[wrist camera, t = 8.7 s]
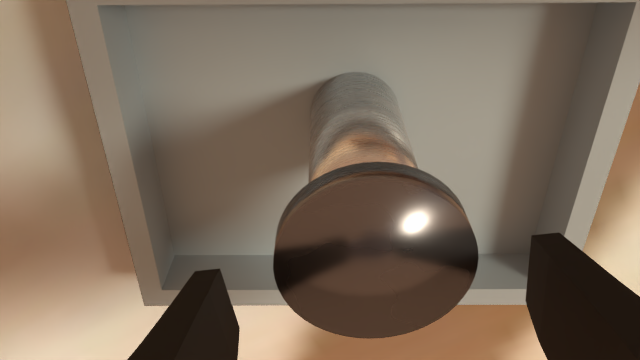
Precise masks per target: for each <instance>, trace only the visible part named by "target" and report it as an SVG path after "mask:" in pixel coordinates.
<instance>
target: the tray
mask: <svg viewBox="0 0 640 360" xmlns="http://www.w3.org/2000/svg"><path fill="white" fill-rule="evenodd" d="M66 3H67V7H68V11H69V15H70V19H71V23H72V26H73V30H74V34H75V38H76V42H77V46H78V50H79V54H80V58H81V61H82V65H83V69H84V73H85V77H86V81H87V85H88V89H89V92H90V96H91V100H92V104H93V108H94V112H95V116H96V120H97V124H98V127H99V131H100V135H101V139H102V143H103V147H104V151H105V155H106V159H107V162H108V166H109V170H110V174H111V178H112V182H113V186H114V190H115V193H116V197H117V201H118V205H119V209H120V213H121V217H122V221H123V225H124V228H125V232H126V236H127V240H128V244H129V248H130V252H131V256H132V259H133V263H134V267H135V271H136V275H137V279H138V283H139V287H140V291H141V294H142V298H143V302H144V306H170V304H171V303H172V302H173V300H174V299H175V297H176V296H177V295H178V293H179V292H180V291H181V289H182V288H183V286H184V285H185V284H186V282H187V281H188V280H189V278H190V277H191V276H192V274H193V273H194V272H195V271H201V270H210V269H219V268H220V270H221V273H222V276H223V279H224V282H225V285H226V288H227V291H228V294H229V297H230V301H231V304H232V305H288V304H287V303H286V301H285V300H284V299H283V297H282V295H281V293H280V292H279V290H278V287H277V284H276V281H275V278H274V271H273V257H274V248H275V239H276V232H277V227H278V223H279V221H280V218H281V215H282V213H283V212H284V210H285V208H286V206H287V205H288V204H289V202H290V201H291V200H292V198H293V197H294V196H295V195H296V194H297V193H298V192H299V191H300V190H301V189H302V188H303V187H305V186H306V185H307V184H308V179H309V148H310V117H311V106H312V102H313V99H314V97H315V95H316V93H317V92H318V90H319V89H320V88H321V87H322V86H323V85H324V84H325V83H326V82H327V81H329V80H330V79H332V78H334V77H336V76H338V75H341V74H344V73H349V72H363V73H368V74H371V75H374V76H376V77H378V78H380V79H381V80H383V81H384V82H385V83H386V84H388V86H389V87H390V88H391V89H392V91H393V92H394V94H395V96H396V99H397V102H398V105H399V108H400V112H401V115H402V118H403V121H404V124H405V128H406V131H407V134H408V137H409V141H410V144H411V147H412V150H413V153H414V157H415V160H416V163H417V166H418V169H420V170H422V171H424V172H427V173H429V174H431V175H432V176H434V177H436V178H437V179H439V180H440V181H441V182H443V183H444V184H445V185H446V186H448V187H449V188H450V189H451V191H452V192H453V193H454V194H455V195H456V196H457V198H458V199H459V201H460V202H461V204H462V206H463V208H464V210H465V213H466V215H467V217H468V220H469V222H470V225H471V227H472V230H473V232H474V235H475V237H476V241H477V246H478V257H479V259H478V267H477V271H476V274H475V278H474V280H473V282H472V284H471V286H470V288H469V290H468V291H467V293H466V294H465V296H464V297H463V298H462V299H461V301H460V302H459V303H458V304H457V305H527V304H526V301H525V300H526V289H527V278H528V267H529V256H530V246H531V235H539V234H549V233H558V232H559V233H561V234H562V235H563V236H564V237H566V238H567V239H568V240H569V241H571V242H572V243H573V244H574V245H575V246H577V247H578V248H579V249H580V250H581V251H583V248H584V245H585V242H586V239H587V236H588V233H589V230H590V227H591V224H592V221H593V218H594V215H595V212H596V209H597V206H598V203H599V200H600V197H601V194H602V192H603V189H604V186H605V183H606V180H607V177H608V174H609V171H610V168H611V165H612V162H613V159H614V156H615V153H616V150H617V147H618V144H619V141H620V138H621V135H622V133H623V130H624V127H625V124H626V121H627V118H628V115H629V112H630V109H631V106H632V103H633V100H634V97H635V94H636V91H637V88H638V85H639V82H640V0H66Z"/></svg>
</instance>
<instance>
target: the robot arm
mask: <svg viewBox="0 0 640 360" xmlns="http://www.w3.org/2000/svg"><path fill="white" fill-rule="evenodd" d="M525 301H526V304H527V307H528V310H529V313H530V316H531V319H532V322H533V325H534V328H535V331H536V334H537V337H538V340H539V342H540V345H541V347H542V349H543V351H544V353H545V355H546V357H547V359H548V360H640V297H639V296H638V295H637V294H635V293H634V292H633V291H631V290H630V289H629V288H628V287H626V286H625V285H624V284H622V283H621V282H620V281H618V280H617V279H616V278H615V277H613V276H612V275H611V274H610V273H608V272H607V271H606V270H605V269H603V268H602V267H601V266H600V265H599V264H597V263H596V262H595V261H594V260H592V259H591V258H590V257H589V256H588V255H586V254H585V253H584V252H583V251H581V250H580V249H579V248H578V247H577V246H575V245H574V244H573V243H572V242H571V241H569V240H568V239H567V238H566V237H564V236H563V235H562V234H561V233H559V232H558V233H549V234H539V235H531V246H530V256H529V267H528V278H527V289H526V300H525ZM238 343H239V325H238V322H237V319H236V316H235V313H234V310H233V307H232V304H231V301H230V297H229V294H228V291H227V288H226V285H225V282H224V279H223V276H222V273H221V270H220V268H219V269H210V270H201V271H195V272H194V273H193V274H192V276H191V277H190V278H189V280H188V281H187V282H186V284H185V285H184V286H183V288H182V289H181V291H180V292H179V293H178V295H177V296H176V297H175V299H174V300H173V302H172V303H171V304H170V306H169V307H168V308H167V310H166V311H165V312H164V314H163V315H162V317H161V318H160V319H159V320H158V322H157V323H156V324H155V326H154V327H153V328H152V330H151V331H150V332H149V334H148V335H147V336H146V337H145V339H144V340H143V341H142V343H141V344H140V345H139V346H138V348H137V349H136V350H135V351H134V352H133V354H132V355H131V356H130V357H129V358H128V360H237V356H238Z"/></svg>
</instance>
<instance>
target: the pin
mask: <svg viewBox="0 0 640 360" xmlns="http://www.w3.org/2000/svg"><path fill="white" fill-rule="evenodd" d="M478 259H479V257H478V246H477V241H476V237H475V235H474V232H473V230H472V227H471V225H470V222H469V220H468V217H467V215H466V213H465V210H464V208H463V206H462V204H461V202H460V201H459V199H458V198H457V196H456V195H455V194H454V193H453V192H452V191H451V189H450V188H449V187H448V186H446V185H445V184H444V183H443V182H441V181H440V180H439V179H437V178H436V177H434V176H432V175H431V174H429V173H427V172H424V171H422V170H420V169H418V166H417V163H416V160H415V157H414V153H413V150H412V147H411V144H410V141H409V137H408V134H407V131H406V128H405V124H404V121H403V118H402V115H401V112H400V108H399V105H398V102H397V99H396V96H395V94H394V92H393V91H392V89H391V88H390V87H389V86H388V84H386V83H385V82H384V81H383V80H381V79H380V78H378V77H376V76H374V75H371V74H368V73H363V72H349V73H344V74H341V75H338V76H336V77H334V78H332V79H330V80H329V81H327V82H326V83H325V84H324V85H323V86H322V87H321V88H320V89H319V90H318V92H317V93H316V95H315V97H314V99H313V102H312V106H311V117H310V148H309V179H308V184H307V185H306V186H305V187H303V188H302V189H301V190H300V191H299V192H298V193H297V194H296V195H295V196H294V197H293V198H292V200H291V201H290V202H289V204H288V205H287V206H286V208H285V210H284V212H283V213H282V215H281V218H280V221H279V223H278V227H277V232H276V239H275V248H274V257H273V271H274V278H275V281H276V284H277V287H278V290H279V292H280V293H281V295H282V297H283V299H284V300H285V301H286V303H287V304H288V305H289V306H290V307H291V308H292V309H293V311H294V312H295V313H297V314H298V315H299V316H300V317H302V318H303V319H304V320H306V321H308V322H309V323H311V324H313V325H314V326H317V327H319V328H321V329H323V330H326V331H329V332H332V333H335V334H339V335H343V336H348V337H355V338H385V337H392V336H397V335H402V334H406V333H409V332H412V331H415V330H418V329H420V328H423V327H425V326H427V325H429V324H431V323H433V322H435V321H436V320H438V319H440V318H441V317H443V316H444V315H445V314H447V313H448V312H449V311H450V310H452V309H453V308H454V307H455V306H456V305H457V304H458V303H459V302H460V301H461V299H462V298H463V297H464V296H465V294H466V293H467V291H468V290H469V288H470V286H471V284H472V282H473V280H474V278H475V274H476V271H477V267H478Z"/></svg>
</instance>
